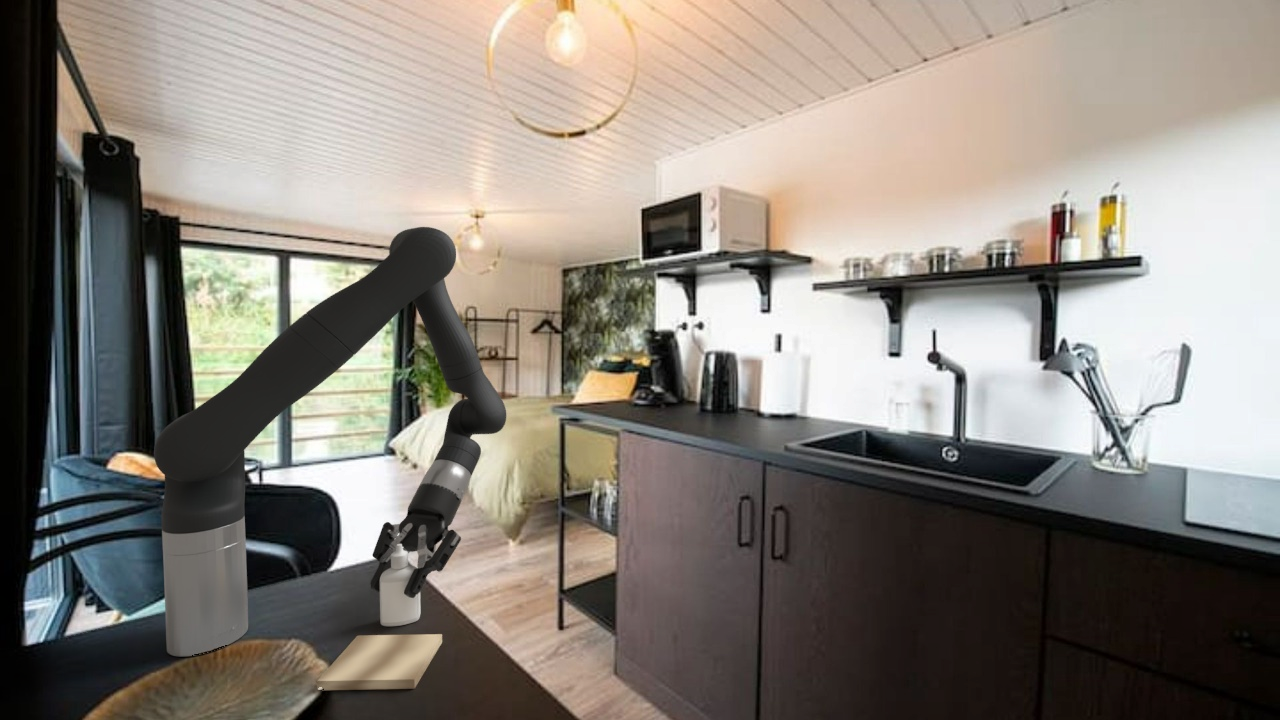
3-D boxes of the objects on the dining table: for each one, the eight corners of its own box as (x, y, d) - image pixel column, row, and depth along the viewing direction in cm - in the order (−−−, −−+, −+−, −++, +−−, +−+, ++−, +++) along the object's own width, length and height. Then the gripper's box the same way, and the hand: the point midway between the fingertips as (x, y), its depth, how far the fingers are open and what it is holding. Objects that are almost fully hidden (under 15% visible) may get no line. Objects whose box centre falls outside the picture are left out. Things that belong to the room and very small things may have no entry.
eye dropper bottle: (407, 630, 79) (406, 551, 78) (375, 625, 80) (373, 548, 80) (425, 615, 83) (424, 540, 83) (394, 611, 85) (392, 537, 84)
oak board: (317, 690, 66) (316, 681, 66) (357, 643, 76) (357, 635, 76) (414, 688, 66) (414, 679, 66) (442, 642, 76) (442, 634, 76)
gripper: (394, 478, 90) (338, 578, 79) (468, 485, 86) (419, 590, 75) (416, 499, 95) (367, 595, 84) (486, 507, 91) (444, 608, 80)
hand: (392, 592), depth 80 cm, fingers closed on eye dropper bottle, 5 cm apart
